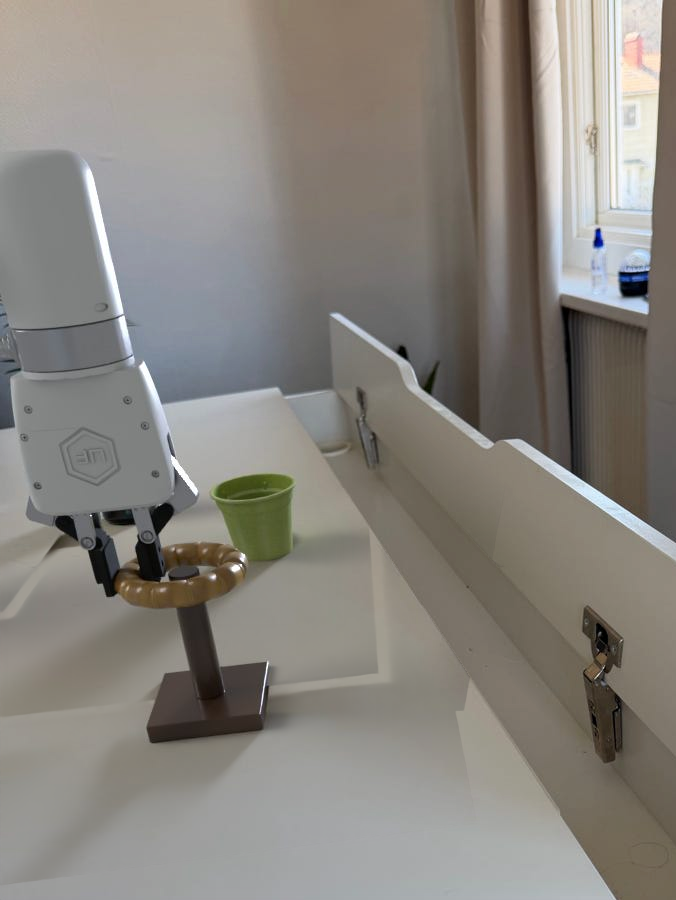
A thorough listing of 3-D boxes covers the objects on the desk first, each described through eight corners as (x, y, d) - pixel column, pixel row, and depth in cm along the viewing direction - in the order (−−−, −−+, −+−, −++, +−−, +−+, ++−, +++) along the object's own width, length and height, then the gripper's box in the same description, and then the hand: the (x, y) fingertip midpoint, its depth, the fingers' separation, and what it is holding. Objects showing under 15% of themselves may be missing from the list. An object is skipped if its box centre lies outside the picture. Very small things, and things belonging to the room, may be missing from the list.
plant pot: (240, 582, 106) (225, 506, 102) (213, 557, 113) (198, 485, 109) (320, 560, 110) (308, 486, 106) (288, 537, 117) (276, 467, 113)
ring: (106, 619, 72) (99, 594, 71) (132, 568, 81) (127, 545, 80) (242, 604, 73) (238, 580, 72) (254, 555, 82) (250, 533, 81)
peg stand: (149, 743, 78) (112, 601, 72) (167, 687, 86) (135, 556, 80) (263, 729, 79) (235, 588, 73) (271, 675, 86) (246, 544, 81)
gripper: (-65, 369, 64) (15, 620, 73) (183, 346, 65) (233, 596, 74) (-26, 348, 71) (43, 580, 79) (198, 328, 72) (242, 559, 80)
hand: (134, 586), depth 76 cm, fingers closed on ring, 2 cm apart
